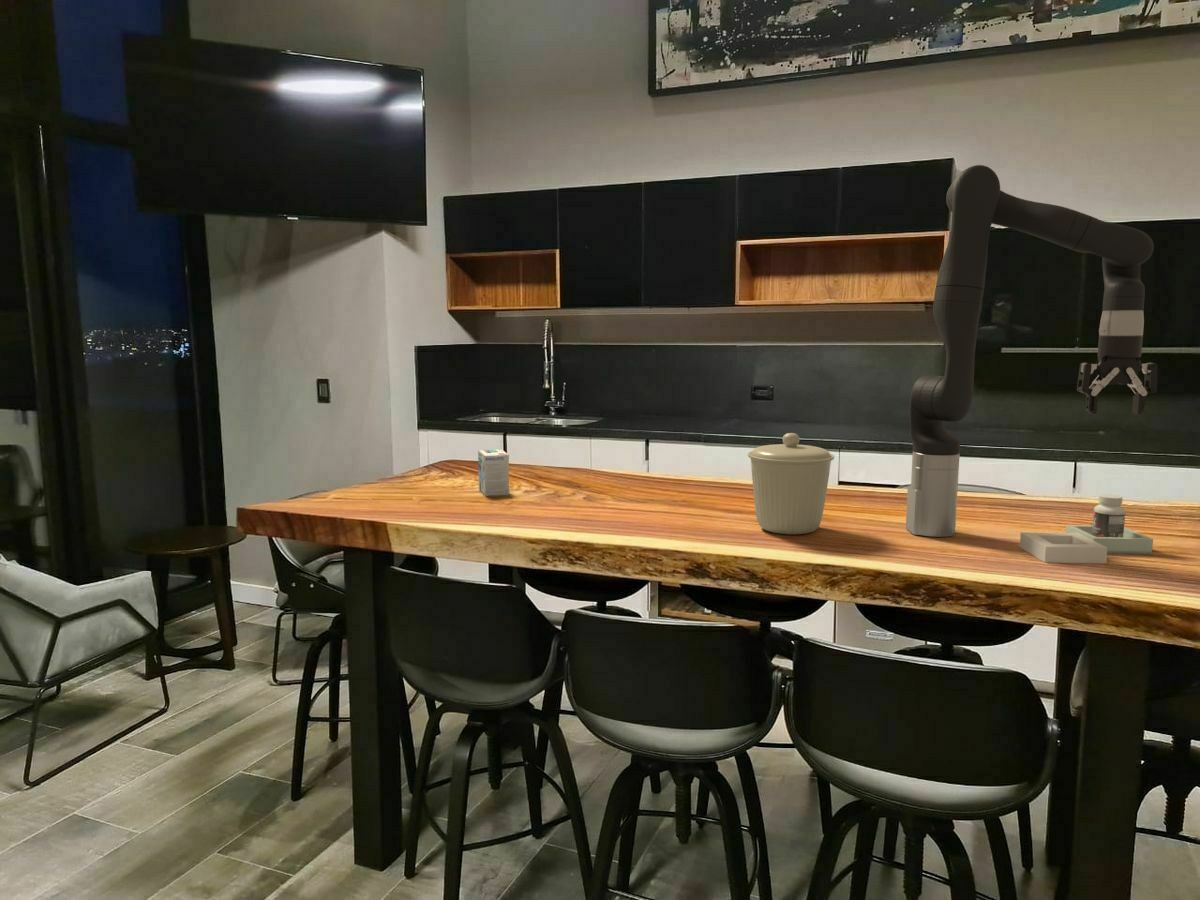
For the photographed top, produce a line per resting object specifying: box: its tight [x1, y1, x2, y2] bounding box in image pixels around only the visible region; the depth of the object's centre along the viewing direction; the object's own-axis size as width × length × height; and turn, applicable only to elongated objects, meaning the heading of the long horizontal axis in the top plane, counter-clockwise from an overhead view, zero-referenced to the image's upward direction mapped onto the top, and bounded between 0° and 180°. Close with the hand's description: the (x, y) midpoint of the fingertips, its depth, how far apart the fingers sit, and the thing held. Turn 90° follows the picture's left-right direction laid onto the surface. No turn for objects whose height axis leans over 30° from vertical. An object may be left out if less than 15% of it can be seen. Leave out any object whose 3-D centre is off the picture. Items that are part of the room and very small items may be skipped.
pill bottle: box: [1092, 493, 1126, 537], centre depth 168 cm, size 5×5×10 cm
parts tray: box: [1065, 524, 1154, 555], centre depth 168 cm, size 11×11×3 cm
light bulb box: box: [477, 448, 510, 497], centre depth 226 cm, size 11×7×11 cm, turn 17°
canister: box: [747, 432, 835, 535], centre depth 182 cm, size 18×18×21 cm
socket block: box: [1019, 532, 1108, 564], centre depth 162 cm, size 11×11×3 cm
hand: (1114, 414), depth 172 cm, fingers open, 8 cm apart
